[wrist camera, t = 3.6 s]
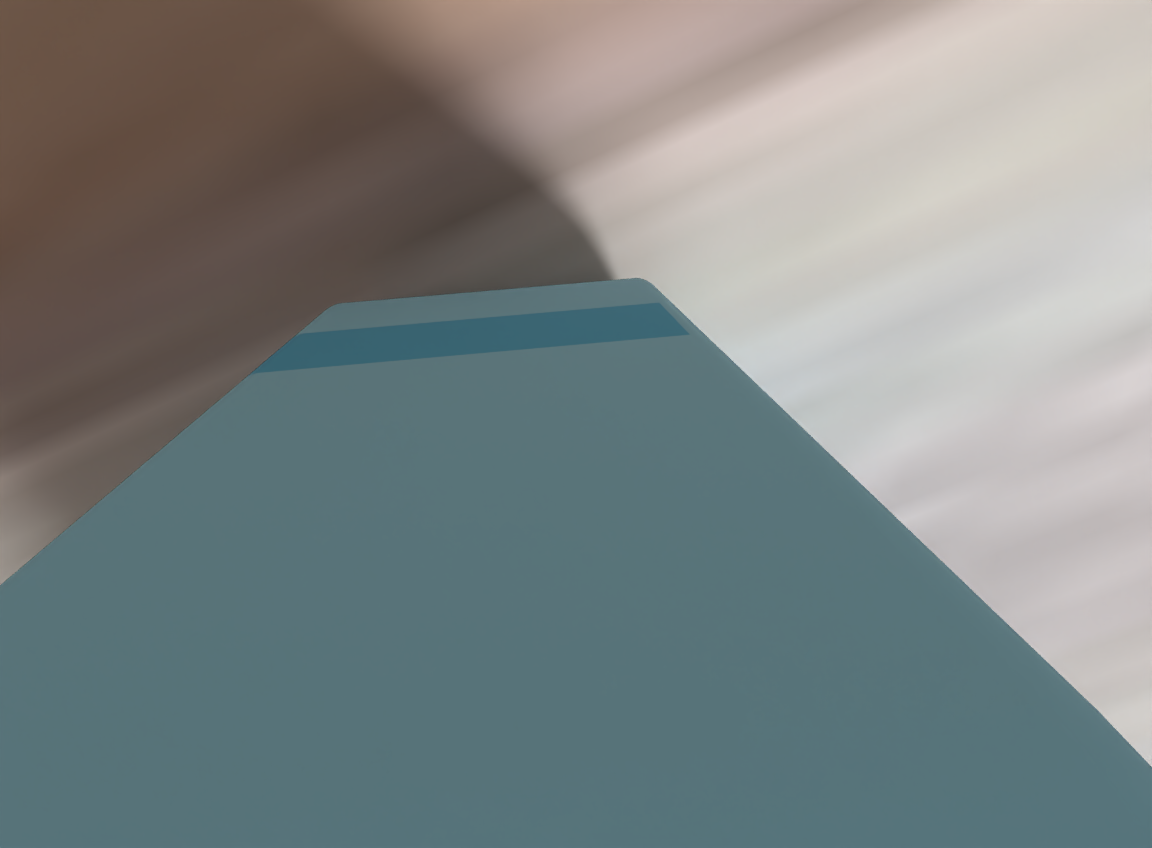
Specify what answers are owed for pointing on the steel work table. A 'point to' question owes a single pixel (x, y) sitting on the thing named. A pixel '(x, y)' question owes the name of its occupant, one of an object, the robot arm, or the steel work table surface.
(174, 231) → the steel work table surface
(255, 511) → the data package
